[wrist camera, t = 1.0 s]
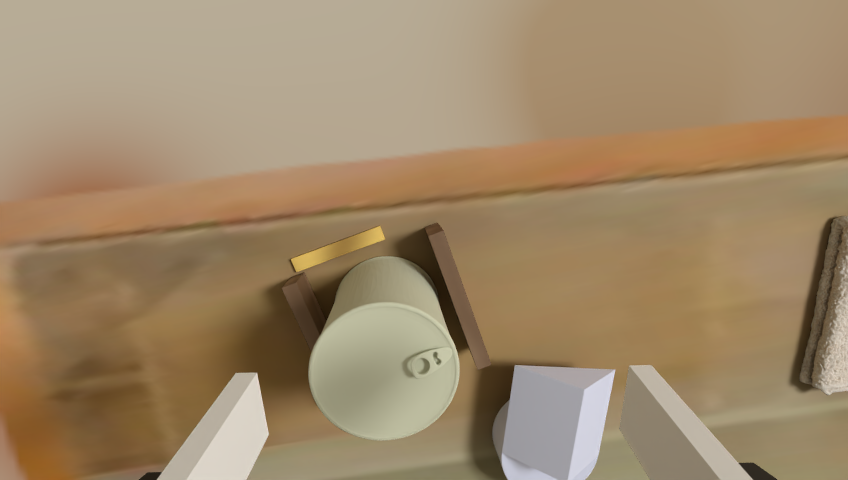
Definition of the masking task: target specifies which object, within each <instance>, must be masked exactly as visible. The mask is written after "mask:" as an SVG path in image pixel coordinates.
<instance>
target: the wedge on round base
mask: <svg viewBox="0 0 848 480" xmlns="http://www.w3.org/2000/svg"><path fill="white" fill-rule="evenodd" d="M614 374H615V370H611V369H590V368H568V367H547V366H525V365H515V368H514V375H513V382H512V388H511V395H510V400H509V401H507V402H506V403H505V404H504V406H503V407H502V408H501V409H500V411H499V412H498V414H497V416H496V418H495V421H494V424H493V430H492V437H493V442H494V446H495V449H496V451H497V454H498V457H499V460H500V462H501V465H502V468H503V471H504V473H505V475H506V477H507V479H508V480H585V479H586V478H587V477H588V476H589V474H590V473H591V471H592V470H593V468H594V466H595V464H596V462H597V458H598V454H599V449H600V444H601V439H602V434H603V429H604V424H605V419H606V414H607V409H608V404H609V399H610V394H611V389H612V384H613V379H614Z"/></svg>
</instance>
